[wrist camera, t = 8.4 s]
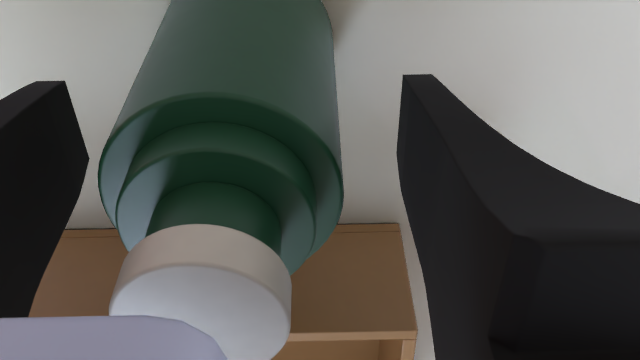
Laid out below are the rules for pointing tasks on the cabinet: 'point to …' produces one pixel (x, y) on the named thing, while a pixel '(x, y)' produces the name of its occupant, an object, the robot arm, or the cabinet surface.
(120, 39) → the cabinet surface
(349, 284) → the carton
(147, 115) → the bottle
